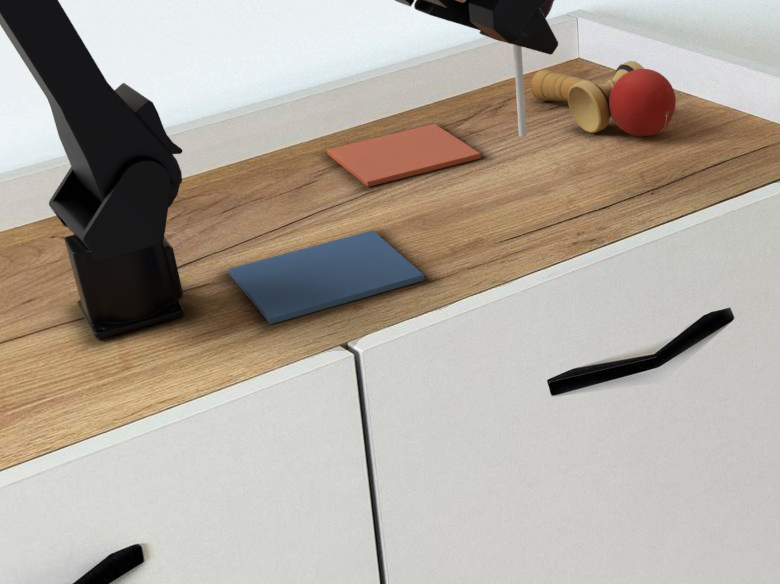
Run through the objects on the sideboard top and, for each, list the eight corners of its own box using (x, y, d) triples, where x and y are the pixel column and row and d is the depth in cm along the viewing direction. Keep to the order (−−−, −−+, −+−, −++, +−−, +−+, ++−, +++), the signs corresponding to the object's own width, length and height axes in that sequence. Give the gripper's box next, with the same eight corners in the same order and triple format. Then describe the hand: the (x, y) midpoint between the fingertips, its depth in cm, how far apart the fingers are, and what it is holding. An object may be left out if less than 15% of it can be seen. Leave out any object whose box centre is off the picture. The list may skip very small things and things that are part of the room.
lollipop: (496, 155, 106) (481, -37, 98) (471, 129, 111) (456, -54, 104) (576, 141, 107) (568, -49, 100) (548, 116, 113) (538, -65, 106)
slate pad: (270, 324, 93) (269, 318, 93) (229, 274, 101) (227, 268, 101) (424, 280, 98) (424, 274, 97) (373, 235, 105) (373, 229, 105)
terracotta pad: (367, 187, 114) (366, 181, 114) (327, 154, 122) (326, 149, 122) (481, 158, 118) (480, 153, 118) (435, 128, 126) (434, 123, 126)
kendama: (509, 124, 129) (629, 143, 116) (508, 58, 128) (630, 69, 114) (571, 118, 134) (694, 135, 120) (571, 54, 132) (696, 64, 118)
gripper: (527, -164, 88) (659, -26, 99) (396, -184, 102) (524, -61, 113) (436, -23, 89) (577, 100, 99) (318, -62, 103) (452, 49, 113)
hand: (531, 40), depth 106 cm, fingers closed on lollipop, 6 cm apart
